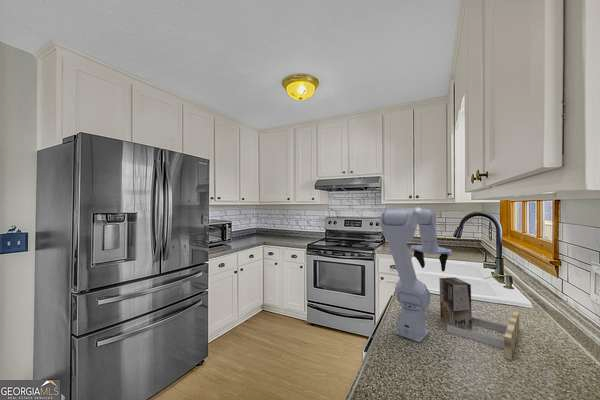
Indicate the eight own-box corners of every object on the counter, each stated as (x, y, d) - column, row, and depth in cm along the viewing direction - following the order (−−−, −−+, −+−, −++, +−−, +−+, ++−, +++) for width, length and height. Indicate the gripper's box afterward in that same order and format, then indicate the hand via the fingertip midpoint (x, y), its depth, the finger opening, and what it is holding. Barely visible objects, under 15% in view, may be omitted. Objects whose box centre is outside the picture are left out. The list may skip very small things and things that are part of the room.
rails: (506, 350, 76) (506, 341, 76) (446, 331, 87) (446, 324, 87) (512, 333, 85) (511, 326, 85) (457, 319, 96) (457, 312, 97)
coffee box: (473, 332, 86) (471, 284, 87) (453, 332, 87) (452, 284, 87) (457, 320, 96) (456, 277, 96) (439, 320, 96) (438, 277, 96)
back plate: (511, 360, 71) (510, 338, 71) (504, 358, 72) (504, 336, 72) (519, 329, 88) (518, 312, 88) (513, 328, 89) (513, 311, 89)
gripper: (452, 235, 98) (456, 266, 101) (413, 232, 108) (418, 260, 111) (447, 243, 93) (451, 276, 96) (407, 240, 103) (412, 269, 106)
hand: (433, 268), depth 103 cm, fingers open, 7 cm apart
